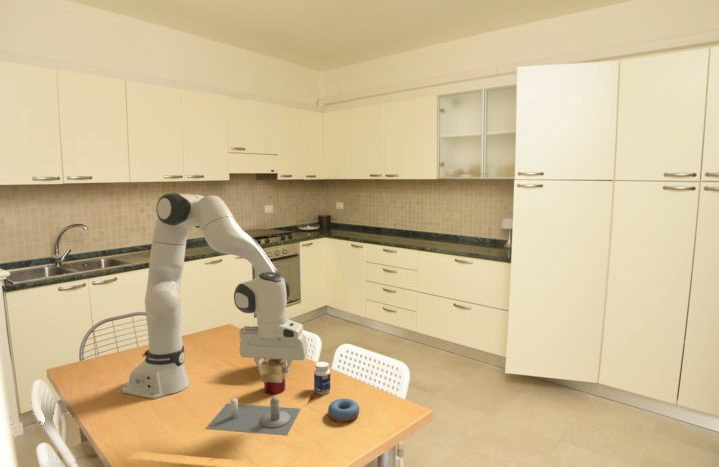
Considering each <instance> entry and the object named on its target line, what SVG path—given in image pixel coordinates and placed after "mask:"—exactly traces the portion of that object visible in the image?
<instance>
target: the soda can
mask: <svg viewBox="0 0 719 467" xmlns="http://www.w3.org/2000/svg"><path fill="white" fill-rule="evenodd" d="M263 386H264V387H263V389H264V393H265V394H267V395H273V396H274V395H279V394H282V393H284V392H285V391H286V390H287V389H286V377H285V378H284V380H283V381H282V383H273V382H263Z"/></svg>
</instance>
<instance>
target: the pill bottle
mask: <svg viewBox="0 0 719 467" xmlns="http://www.w3.org/2000/svg"><path fill="white" fill-rule="evenodd" d="M314 368H315V370H314V371H313V372H314V373H313V376H314V377H313V383H314V384H313V390H314V393H315V394H318V395H326V394H328V393H330V391H331V370H330V364H329V363H328V362H326V361H318V362H316V363H315V367H314Z"/></svg>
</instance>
